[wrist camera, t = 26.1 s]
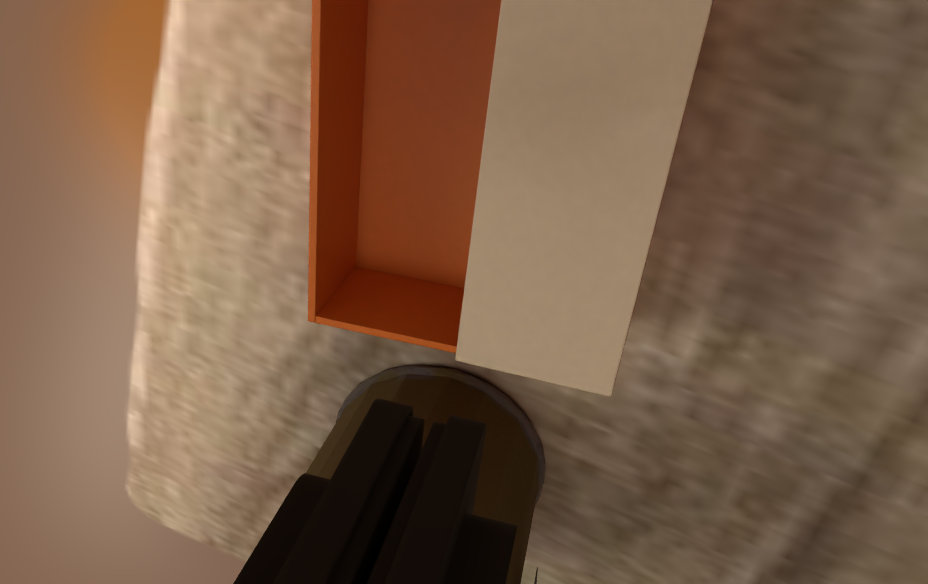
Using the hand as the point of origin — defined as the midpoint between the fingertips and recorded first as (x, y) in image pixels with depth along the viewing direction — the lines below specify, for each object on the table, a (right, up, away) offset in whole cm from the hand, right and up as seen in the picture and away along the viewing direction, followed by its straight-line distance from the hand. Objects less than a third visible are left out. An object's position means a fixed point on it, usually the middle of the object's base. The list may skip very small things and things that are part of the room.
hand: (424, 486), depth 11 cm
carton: (+2, +9, +17) cm, 19 cm away
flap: (+4, +6, +12) cm, 14 cm away
